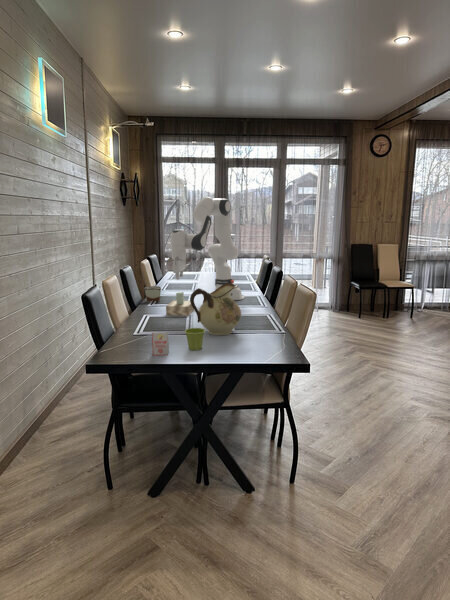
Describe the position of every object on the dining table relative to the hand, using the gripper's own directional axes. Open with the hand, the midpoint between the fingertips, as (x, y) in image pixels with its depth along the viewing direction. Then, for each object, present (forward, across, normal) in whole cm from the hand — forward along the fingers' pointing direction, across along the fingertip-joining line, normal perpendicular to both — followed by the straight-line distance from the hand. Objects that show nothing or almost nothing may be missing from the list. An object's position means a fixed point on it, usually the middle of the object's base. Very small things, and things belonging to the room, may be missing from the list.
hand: (179, 278), depth 260 cm
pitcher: (+22, -42, -30) cm, 56 cm away
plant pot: (+21, -69, -22) cm, 76 cm away
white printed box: (+21, -78, -8) cm, 81 cm away
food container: (+22, +32, +26) cm, 47 cm away
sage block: (+16, 0, 0) cm, 16 cm away
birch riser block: (+22, 0, 0) cm, 22 cm away
